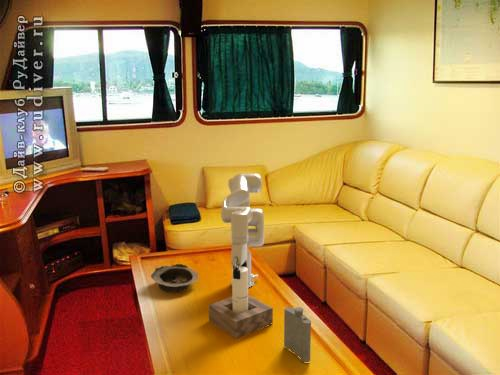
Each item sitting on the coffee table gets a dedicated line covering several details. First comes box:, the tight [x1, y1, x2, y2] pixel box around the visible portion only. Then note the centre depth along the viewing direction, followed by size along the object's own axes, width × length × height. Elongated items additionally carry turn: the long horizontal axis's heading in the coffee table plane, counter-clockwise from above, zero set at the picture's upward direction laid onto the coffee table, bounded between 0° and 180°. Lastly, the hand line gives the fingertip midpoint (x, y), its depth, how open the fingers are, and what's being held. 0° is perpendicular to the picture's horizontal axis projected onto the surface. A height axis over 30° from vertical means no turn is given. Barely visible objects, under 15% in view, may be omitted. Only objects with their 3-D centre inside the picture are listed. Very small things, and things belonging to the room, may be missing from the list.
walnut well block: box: [208, 294, 274, 339], centre depth 230 cm, size 21×21×8 cm
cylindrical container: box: [231, 266, 249, 314], centre depth 229 cm, size 7×7×25 cm
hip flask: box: [283, 306, 312, 363], centre depth 203 cm, size 16×4×20 cm, turn 30°
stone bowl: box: [150, 263, 199, 293], centre depth 270 cm, size 25×25×9 cm
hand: (240, 274), depth 227 cm, fingers open, 9 cm apart
